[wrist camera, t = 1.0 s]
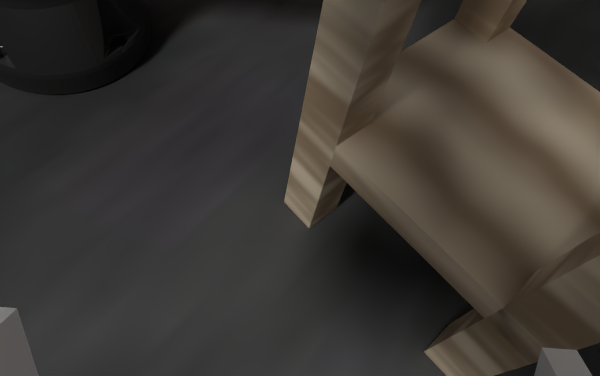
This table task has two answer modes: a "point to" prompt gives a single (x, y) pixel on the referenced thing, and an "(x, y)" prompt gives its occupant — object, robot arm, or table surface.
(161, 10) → the table surface
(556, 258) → the shelf stand
